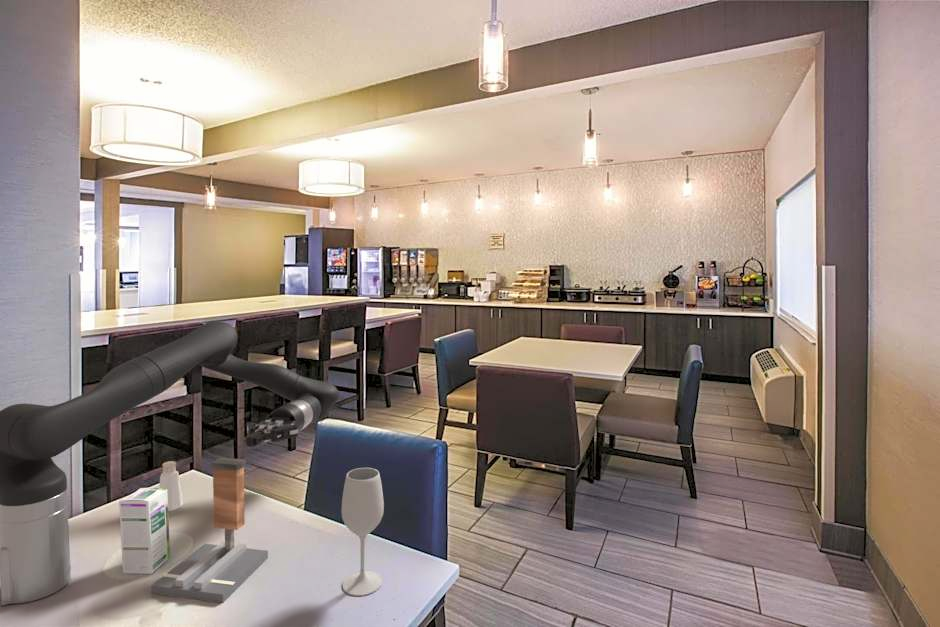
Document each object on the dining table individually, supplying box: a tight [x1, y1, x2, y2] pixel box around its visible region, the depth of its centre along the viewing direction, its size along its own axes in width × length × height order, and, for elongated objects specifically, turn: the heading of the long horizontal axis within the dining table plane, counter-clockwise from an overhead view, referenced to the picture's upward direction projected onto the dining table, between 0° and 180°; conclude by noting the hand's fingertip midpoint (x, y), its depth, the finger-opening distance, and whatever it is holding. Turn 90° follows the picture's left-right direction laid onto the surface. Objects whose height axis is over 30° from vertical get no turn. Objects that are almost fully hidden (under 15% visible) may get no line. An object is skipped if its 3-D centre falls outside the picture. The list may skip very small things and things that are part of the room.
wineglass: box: [341, 467, 385, 597], centre depth 91 cm, size 8×8×21 cm
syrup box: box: [119, 487, 171, 575], centre depth 96 cm, size 6×6×14 cm
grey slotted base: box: [150, 540, 269, 604], centre depth 94 cm, size 14×14×3 cm
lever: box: [210, 457, 246, 553], centre depth 98 cm, size 3×5×18 cm, turn 81°
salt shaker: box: [158, 460, 184, 512], centre depth 120 cm, size 5×5×11 cm
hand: (249, 442), depth 104 cm, fingers closed
